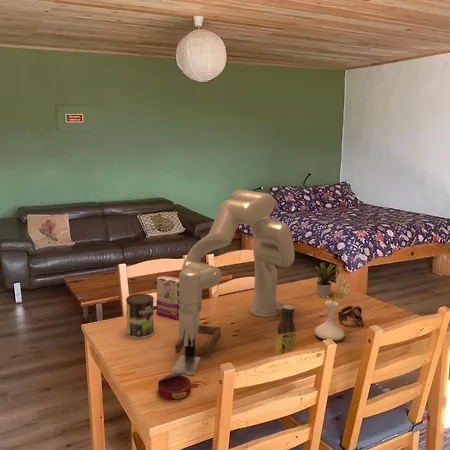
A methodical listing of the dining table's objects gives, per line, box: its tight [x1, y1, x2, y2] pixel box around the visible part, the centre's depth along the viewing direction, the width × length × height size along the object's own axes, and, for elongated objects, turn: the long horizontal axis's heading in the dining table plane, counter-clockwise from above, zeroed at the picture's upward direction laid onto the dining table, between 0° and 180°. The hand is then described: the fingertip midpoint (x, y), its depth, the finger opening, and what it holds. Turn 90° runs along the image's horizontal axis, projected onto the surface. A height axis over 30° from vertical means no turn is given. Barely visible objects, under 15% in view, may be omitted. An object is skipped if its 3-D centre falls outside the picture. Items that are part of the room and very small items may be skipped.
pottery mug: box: [337, 305, 364, 327], centre depth 198 cm, size 12×10×8 cm
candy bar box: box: [155, 274, 181, 321], centre depth 200 cm, size 11×5×16 cm, turn 62°
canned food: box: [157, 372, 192, 401], centre depth 144 cm, size 11×10×10 cm
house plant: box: [312, 262, 340, 298], centre depth 226 cm, size 14×14×16 cm
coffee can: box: [125, 293, 155, 340], centre depth 183 cm, size 10×10×14 cm
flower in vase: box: [314, 273, 351, 341], centre depth 182 cm, size 13×11×25 cm
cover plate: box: [171, 354, 201, 376], centre depth 160 cm, size 7×10×2 cm
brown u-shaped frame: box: [174, 324, 221, 358], centre depth 177 cm, size 12×19×3 cm, turn 168°
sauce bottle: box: [274, 304, 296, 356], centre depth 163 cm, size 6×6×20 cm
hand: (189, 355), depth 165 cm, fingers closed
